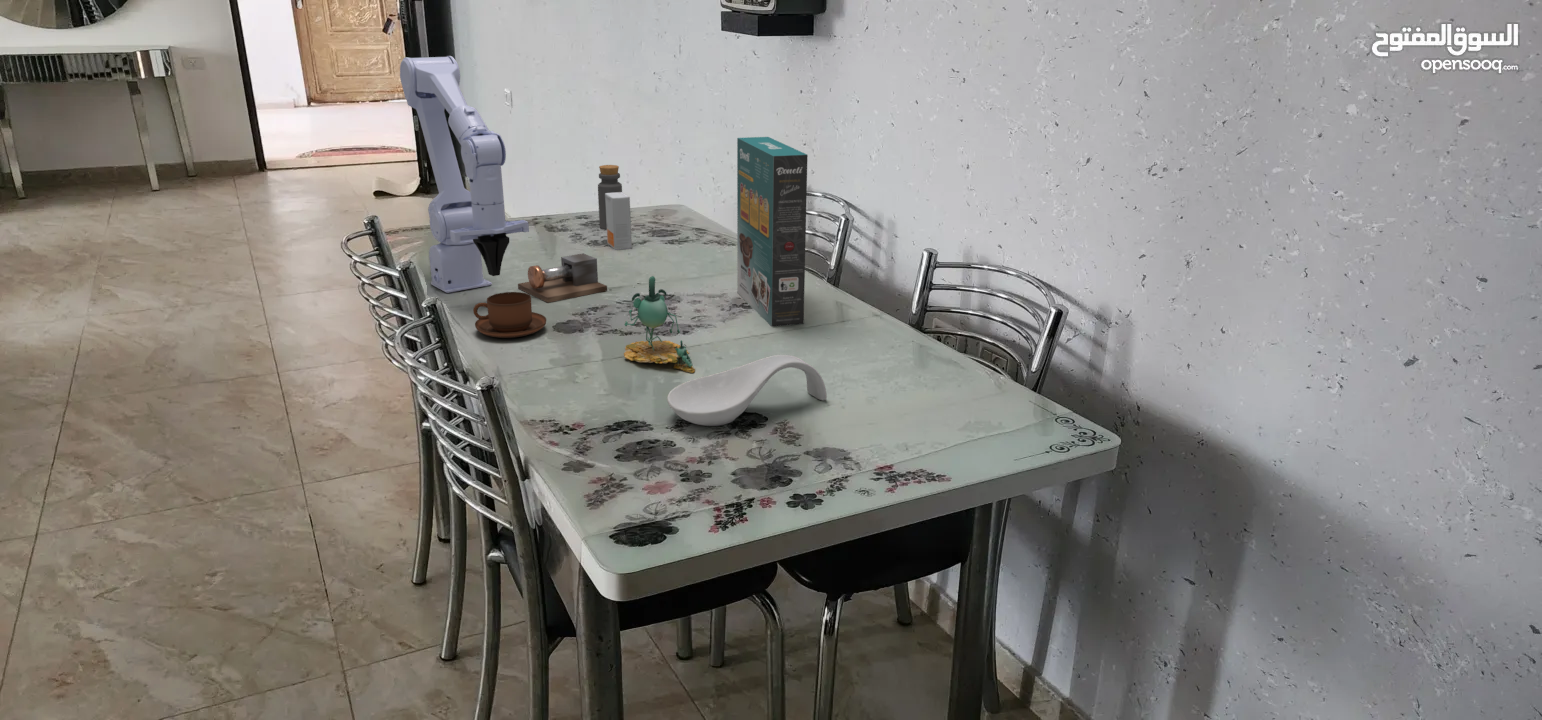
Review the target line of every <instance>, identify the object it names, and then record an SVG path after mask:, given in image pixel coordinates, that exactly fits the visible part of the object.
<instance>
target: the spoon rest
mask: <svg viewBox="0 0 1542 720" xmlns="http://www.w3.org/2000/svg"><path fill="white" fill-rule="evenodd" d="M787 368H791V369H792V368H793V369H797V370H800V371H802V372H804V374H805V378H806V390H807V393H808V394H809V395H811V396H812V397H814V398H815V399H817V400H819V401H826V400H827V397H828V396H827V389H826V384H825V381H824V379H823V378H822V377H823V376H821V374H820V372H819V371H818V370H817V369H816V368H815V367H814V366H812V365H810V364H809V363H807V362H806V361H805V360H803V359H801V358H799V357H797V356H795V355H794V356H793V355H789V354H775V355H770V356H767V357H763V358H760V359H757V360H754V361H752V362H748V363H746V364H743V365H740V366H736V367H734V368H733V367H732V368H730V369H728V370H724V371H721V372H717V373H713V374H710V375H705V376H701V377H697V378H694V379H690V380H688V381H685V382H683V383H680V384H678V385H676V386H675V387H674V388H673V387H672V389H671V390H670V391H669V393H668V395H667V397H666V401H667V404H668V406H669V407H670V408H671V410H672V411H673V412H674V413H675V414H676V415H677V416H679V418H680V419H682V420H684V421H686V422H689V423H691V424H695V425H699V426H706V427H717V426H723V425H728V424H730V423H733V421H735V420H736V419H737V418H738V417H739V416H741V415H742V414H743V413H744V411H745V410H747V408H748V407H749V406H750V404H751V403H752V402H753V400H754V399H755V398H756V396H757V395H758V394H759V392H760V391H762V389H763V387H764V386H765V385H766V384H767V383H768V382H769V380H770V379H771V378H772V377H773V376H774V375H776V373H778V372H779V371H782V370H784V369H787Z"/></svg>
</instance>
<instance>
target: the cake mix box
mask: <svg viewBox="0 0 1542 720" xmlns="http://www.w3.org/2000/svg"><path fill="white" fill-rule="evenodd" d="M736 141H737V142H736V144H737V147H736V150H737V162H736V164H737V165H736V166H737V167H736V168H737V171H736V173H737V174H736V175H737V177H736V179H737V182H736V183H737V185H736V187H737V188H736V189H737V190H736V191H737V192H736V193H737V195H736V196H737V199H736V200H737V205H736V208H737V214H736V215H737V222H736V223H737V226H736V227H737V233H736V234H737V244H736V245H737V255H736V256H737V263H736V264H737V267H736V268H737V269H736V270H737V272H736V273H737V276H736V277H737V278H736V279H737V283H736V284H737V294H738V295H739V296H740V297H741V298H742V299H743V300H744V301H745V302H746V303H747V304H748V305H749V306H750V307H751V308H752V310H754V311H755V312H756V313H757V314H758V315H759V316H760V317H761V318H762V319H763V320H764V321H765V322H766V323H767V324H768V325H769V326H770V327H771V328H774V327H784V326H795V325H804V322H805V319H804V318H805V317H804V316H805V313H804V312H805V287H806V285H805V284H806V283H805V282H806V281H805V280H806V275H805V274H806V239H807V238H806V237H807V236H806V235H807V233H806V232H807V230H806V229H807V197H808V195H807V192H808V191H807V189H808V187H807V186H808V154H806V153H804V152H802V151H800V150H798V149H796V148H794V147H792V146H790V145H787V144H785V143H782V142H780V141H778V140H777V139H774V138H771V137H769V136H755V137H754V136H753V137H752V136H751V137H749V136H748V137H737V140H736Z"/></svg>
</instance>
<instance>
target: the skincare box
mask: <svg viewBox="0 0 1542 720" xmlns="http://www.w3.org/2000/svg"><path fill="white" fill-rule="evenodd" d="M630 198H631V197H630V196H629V195H628V194H626V193H624V192H623V191H622V192H615V193H605V202H606V223H607V229H606V238H607V239H606V240H607V245H608V246H610V247H611V248H612V249H613V250H615V251H618V250H619V251H620V250H629V249H632V248H633V247H632V246H633V245H632V244H633V242H632V241H633V240H632V223H631V222H632V221H631V220H632V219H631V199H630Z"/></svg>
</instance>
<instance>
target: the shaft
mask: <svg viewBox="0 0 1542 720" xmlns="http://www.w3.org/2000/svg"><path fill="white" fill-rule="evenodd" d="M568 277H573V273H572V265H566V266H562V265H560V266H555V267H550V268H544V269H543V268H542V267H540V265H530V266H529V268H528V269H527V278H528V282H530V285H531V286H532V288H534V289H538V288H542V287H543V286H544V282H547V281H552V280H558V279H563V278H568Z"/></svg>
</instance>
